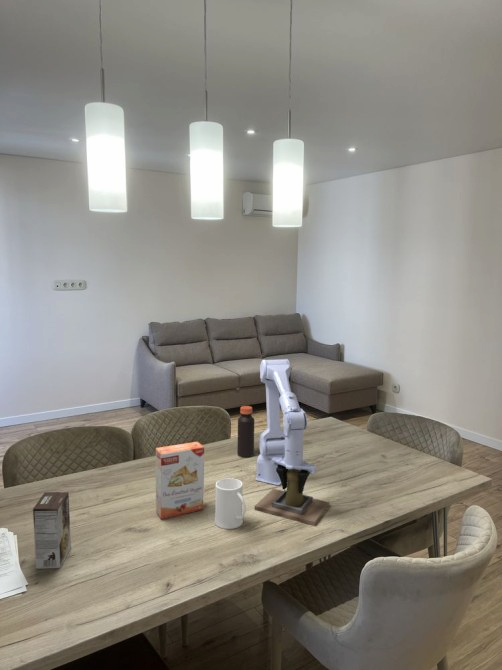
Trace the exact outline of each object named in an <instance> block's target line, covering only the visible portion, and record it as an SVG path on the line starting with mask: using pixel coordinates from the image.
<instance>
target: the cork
mask: <svg viewBox="0 0 502 670" xmlns="http://www.w3.org/2000/svg"><path fill="white" fill-rule="evenodd" d="M299 472H301V470H298V469H288V471H287V473H286V476H287V488H286V491H287V492H286V499H285V504H286V505H288V506H292V507H299V506H302V505H303V504H304V499H303V495H304V491H303V492H302V493H299V477H298V473H299Z"/></svg>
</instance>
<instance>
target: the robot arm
mask: <svg viewBox="0 0 502 670" xmlns="http://www.w3.org/2000/svg"><path fill="white" fill-rule="evenodd" d="M291 367H292V366H291V362H290V361H289V359H288V358H285V359H282V358H281V359H262V360H261V361H260V365H259V371H260V372H259V373H260V374H259V377H260V382H261V383H263V384H264V385H265V397H266V401H265V402H266V423H267V427H266V429H265V430H264V431H263V432H262V433H261V434H260V436H259V442H258V443H259V444H258V445H259V447H258V448H259V453H260V454H259V455H258V456H257V459H256V478H255V481H258V482H263V483H266V484H270V485H275V486H280V485H281V488H282V490H283V491H284V490H287V484H288V479H287V476H286V473H287V471H288V470H289V469H298V470H301V472H299V473H298V477H299V493H302V492H303V493H304V489H305V486H306V482H307V480H308V477H309V476H310V474H313V475H314V474H316V473H317V465H314V464H311V463H308V462H306V461H304V434H305V433H304V432H305V431H304V430H306V429H307V426H308V419H307V414H306V411H304V410H303V408H302V407H300V405H299V401H298V398H297V395H296V394H295V393H294V392H292V389H291V384H290V380H289V378H290V375H291V369H292V368H291ZM281 412H282V414H283V416H282V424H283V425H282V424H281ZM281 425H282V426H283V430H282V429H281Z"/></svg>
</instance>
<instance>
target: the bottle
mask: <svg viewBox="0 0 502 670" xmlns="http://www.w3.org/2000/svg"><path fill="white" fill-rule="evenodd" d="M239 409H240V410H239V412H240V413H239V414H240V416H239V417H238V419H237V456H239V457H240V456H241V457H240V458H251V457H253V456H254V455H255V418H254V417H253V416H252V415H253V407H252V406H250V405H242V406H241V407H240V408H239Z"/></svg>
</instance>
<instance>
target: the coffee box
mask: <svg viewBox="0 0 502 670" xmlns="http://www.w3.org/2000/svg"><path fill="white" fill-rule="evenodd" d="M69 495H70V494H69V491H65V492H64V491H63V492H62V491H46V492H44V493H43V494H42V495H41V497H40V498H39V500H38V501H37V502H36V504H35V505H34V507H33V508H32V512H33V513H32V515H33V518H32V519H33V534H34V535H33V537H34V538H33V539H34V555H35V557H34V559H35V569H38V570H39V569H41V570H42V569H43V570H44V569H60V568H61V569H62V566H63V564H64V562H65V560H66V559H67V556H68V554H69V552H70V550H71V548H72V546H71V542H72V541H71V519H70V518H71V517H70V516H71V515H70V498H69Z"/></svg>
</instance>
